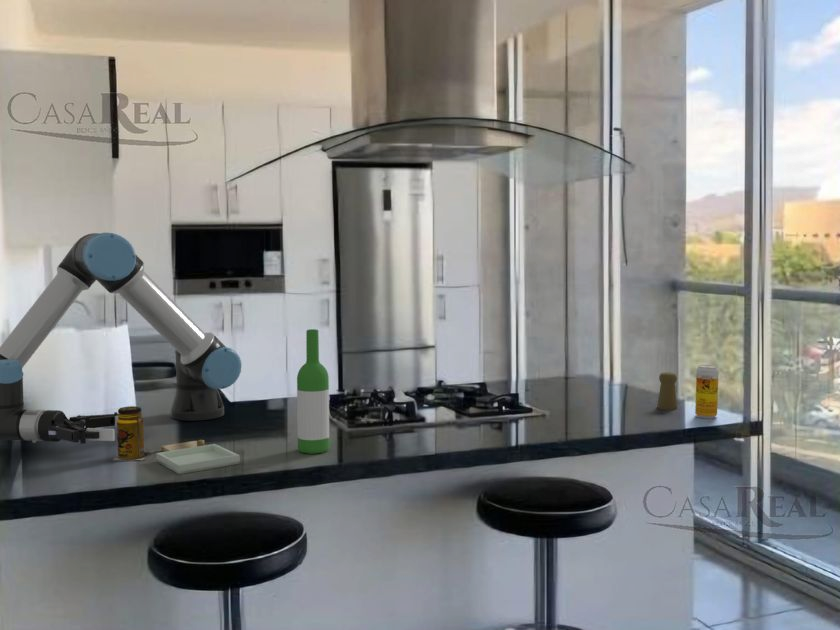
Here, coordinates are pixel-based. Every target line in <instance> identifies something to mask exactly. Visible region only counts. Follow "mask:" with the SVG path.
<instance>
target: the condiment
mask: <svg viewBox="0 0 840 630" xmlns="http://www.w3.org/2000/svg"><path fill="white" fill-rule="evenodd" d="M117 414H118V418H119V419H118V420H117V427H116V436H117V441H116V442H117V456H116V457H115V458H113V459H112V461H123V462H124V461H125V462H126V461H127V462H128V461H143V460H145V459H146V458H147V457H148V456H149V455H151V454H152V453H153V452H154V450H149V451H148V450H147V451H146V450H145V433H144V432H145V430H144V428H145V426H144V419H143V417H142V416H143V415H142V407H140V406H133V405H132V406H131V405H130V406H123V407H120V408H119V409H118V410H117Z"/></svg>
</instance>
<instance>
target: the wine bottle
mask: <svg viewBox="0 0 840 630" xmlns="http://www.w3.org/2000/svg"><path fill="white" fill-rule="evenodd" d="M305 332H306V341H305V342H306V346H305V347H306V350H305V351H306V361H305V363H303V365H302V366H300V368H299V370H298V372H297V376H296V402H297V403H296V406H297V407H296V412H297V413H296V415H297V416H296V417H297V420H296V421H297V425H296V426H297V427H296V428H297V448H298V451H299V452H301V453H302V454H306V455H307V454H308V455H309V454H310V455H312V454H315V455H316V454H322V453H325V452H327V451H328V450H329V447H330V388H329V385H330V384H329V383H330V380H329V373H328V370H327V369H326V366H324V365H323V364H322V363H321V361H320V352H319V348H320V347H319V346H320V345H319V341H320V340H319V338H320V337H319V330H318V329H315V328H313V329H307V330H306V331H305Z"/></svg>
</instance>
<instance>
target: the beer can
mask: <svg viewBox="0 0 840 630" xmlns="http://www.w3.org/2000/svg"><path fill="white" fill-rule="evenodd" d="M719 372H720V371H719V368H718V366H717V365H712V364H700V365H698V366H697V368H696V376H695V378H696V379H695V380H696V381H695V383H696V384H695V410H694V413H695V415H696V416H698V417H697V418H700V417H701V419H714V417H715V418H716V416H718V400H719V399H718V397H719V395H718V394H719Z"/></svg>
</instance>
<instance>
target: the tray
mask: <svg viewBox="0 0 840 630" xmlns="http://www.w3.org/2000/svg"><path fill="white" fill-rule="evenodd" d="M204 445H205V446H198V447H192V448H186V449H179V450H173V451H167V452H164V451H162V452H161V451H160V452H156V462H157V463H158V464H161V465H162V466H163V467H166V468H167V469H169V470H171V471H173V472H174V473H176V474H178V475H184V474H190V473H196V472H200V471H206V470H207V471H208V470H211V469H218V468H224V467H228V466H234V465H240V464H241V460H240V459H241V457H240V456H241V455H240V454H239V453H235V452H234V451H231V450H229V449H227V448H225V447H223V446H221V445H218V444H217V443H212V444H204Z"/></svg>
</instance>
